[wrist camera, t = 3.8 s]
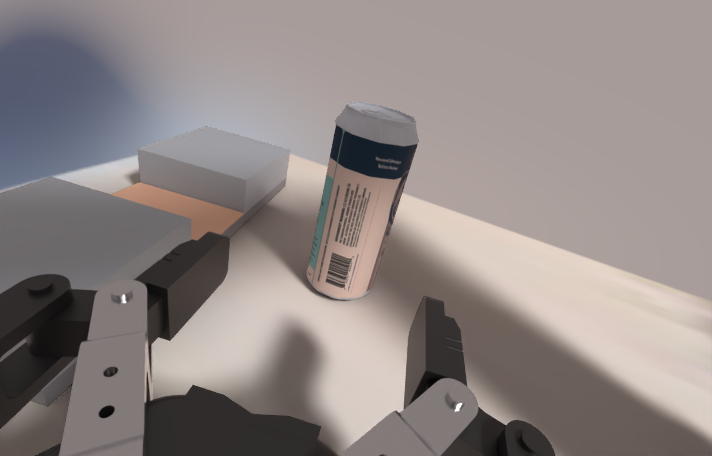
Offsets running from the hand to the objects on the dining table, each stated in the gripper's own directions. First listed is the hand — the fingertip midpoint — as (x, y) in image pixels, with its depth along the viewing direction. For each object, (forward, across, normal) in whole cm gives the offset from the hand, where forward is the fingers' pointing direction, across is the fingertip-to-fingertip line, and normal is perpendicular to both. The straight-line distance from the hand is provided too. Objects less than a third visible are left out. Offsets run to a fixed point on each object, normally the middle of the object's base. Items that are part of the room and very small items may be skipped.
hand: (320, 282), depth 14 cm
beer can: (+9, 0, +7) cm, 11 cm away
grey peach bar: (+9, +14, +6) cm, 17 cm away
